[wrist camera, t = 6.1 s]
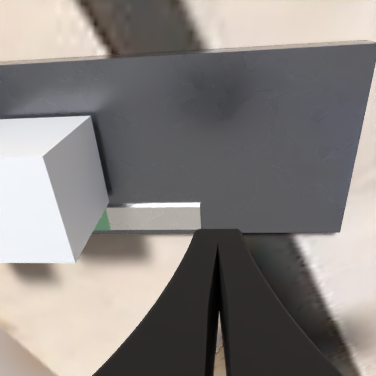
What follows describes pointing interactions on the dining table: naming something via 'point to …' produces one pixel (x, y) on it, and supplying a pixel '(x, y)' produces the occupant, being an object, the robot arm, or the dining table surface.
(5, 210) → the white rectangular block
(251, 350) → the robot arm
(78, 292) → the dining table surface
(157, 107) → the gauge base
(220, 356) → the handle
